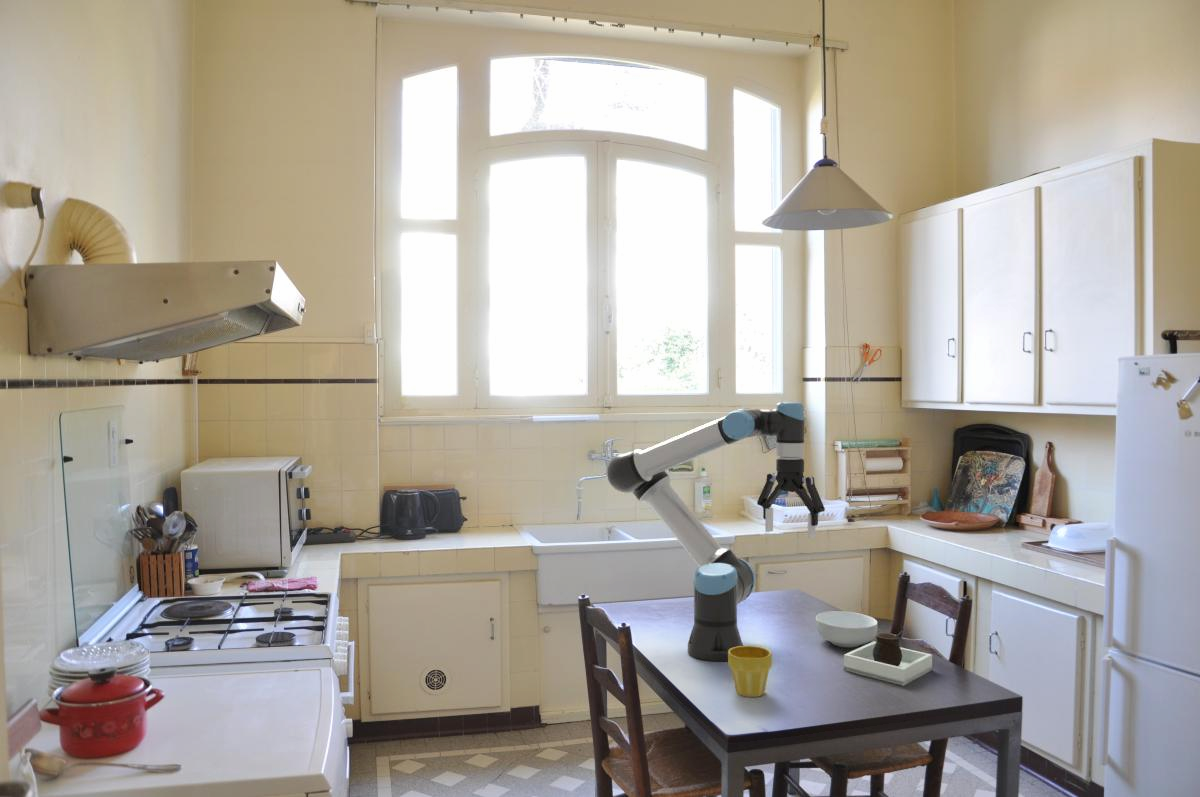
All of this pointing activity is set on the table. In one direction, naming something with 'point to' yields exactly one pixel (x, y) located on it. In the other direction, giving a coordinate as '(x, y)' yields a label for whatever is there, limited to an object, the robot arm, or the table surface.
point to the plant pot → (750, 669)
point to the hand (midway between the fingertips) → (789, 534)
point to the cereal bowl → (846, 628)
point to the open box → (906, 672)
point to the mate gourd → (887, 649)
